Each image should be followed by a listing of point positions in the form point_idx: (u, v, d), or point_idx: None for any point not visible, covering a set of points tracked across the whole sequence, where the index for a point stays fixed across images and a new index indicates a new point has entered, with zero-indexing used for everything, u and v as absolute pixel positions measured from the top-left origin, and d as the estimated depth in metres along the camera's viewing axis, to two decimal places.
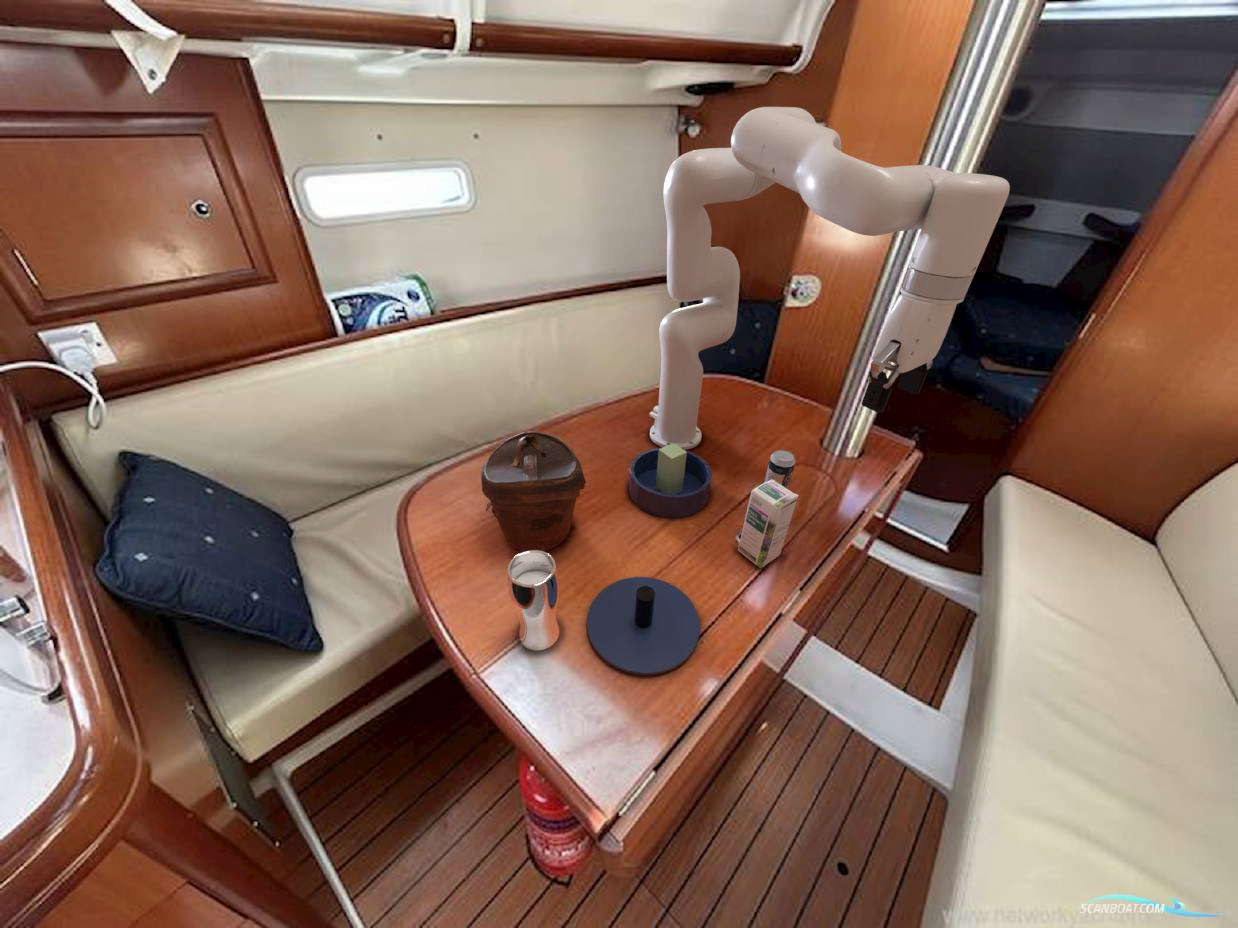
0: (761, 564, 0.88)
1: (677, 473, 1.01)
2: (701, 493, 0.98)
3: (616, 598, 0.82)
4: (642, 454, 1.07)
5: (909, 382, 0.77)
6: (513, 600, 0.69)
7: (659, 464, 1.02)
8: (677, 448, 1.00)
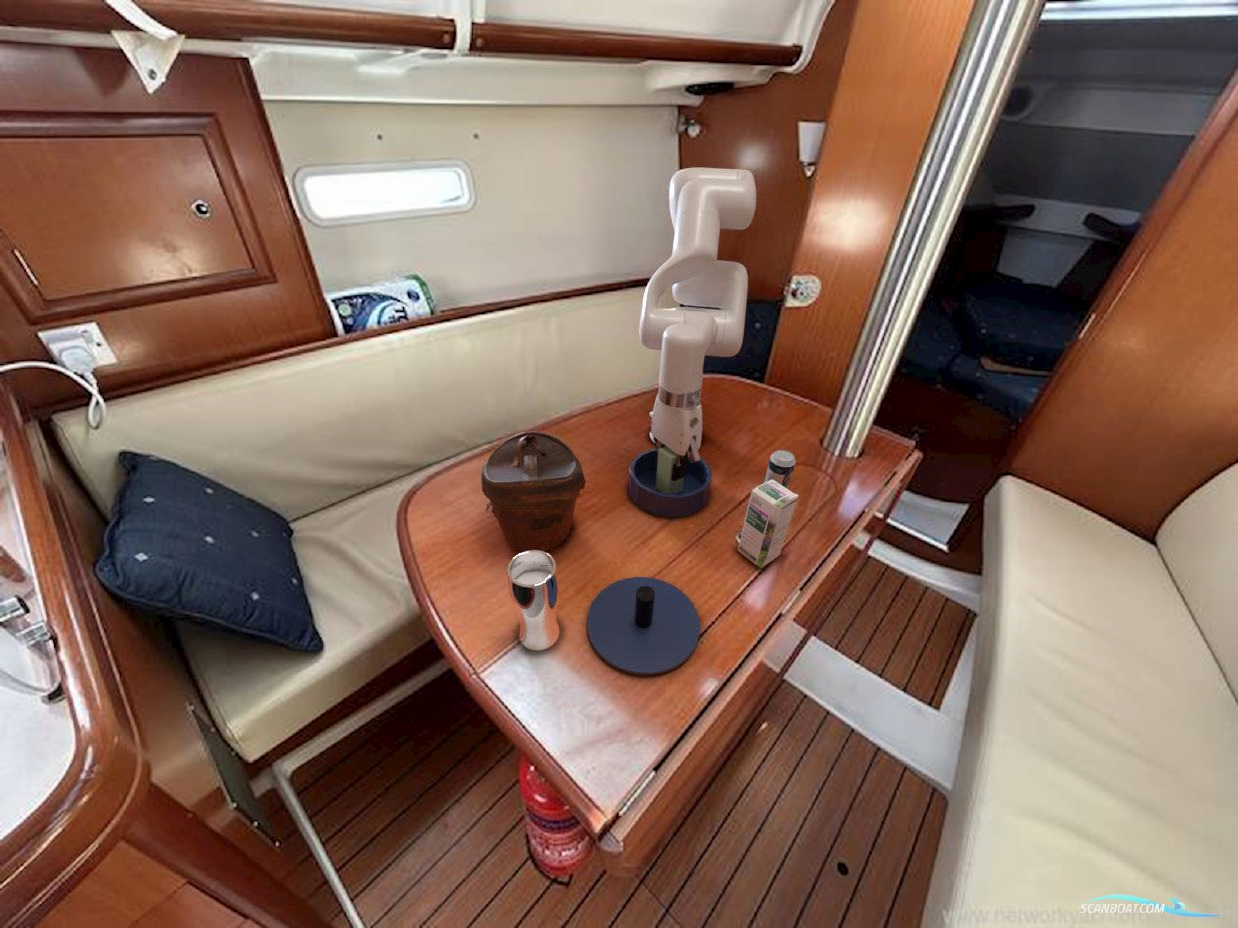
0: (761, 564, 0.88)
1: None
2: (701, 493, 0.98)
3: (616, 598, 0.82)
4: (642, 454, 1.07)
5: None
6: (513, 600, 0.69)
7: (659, 464, 1.02)
8: None
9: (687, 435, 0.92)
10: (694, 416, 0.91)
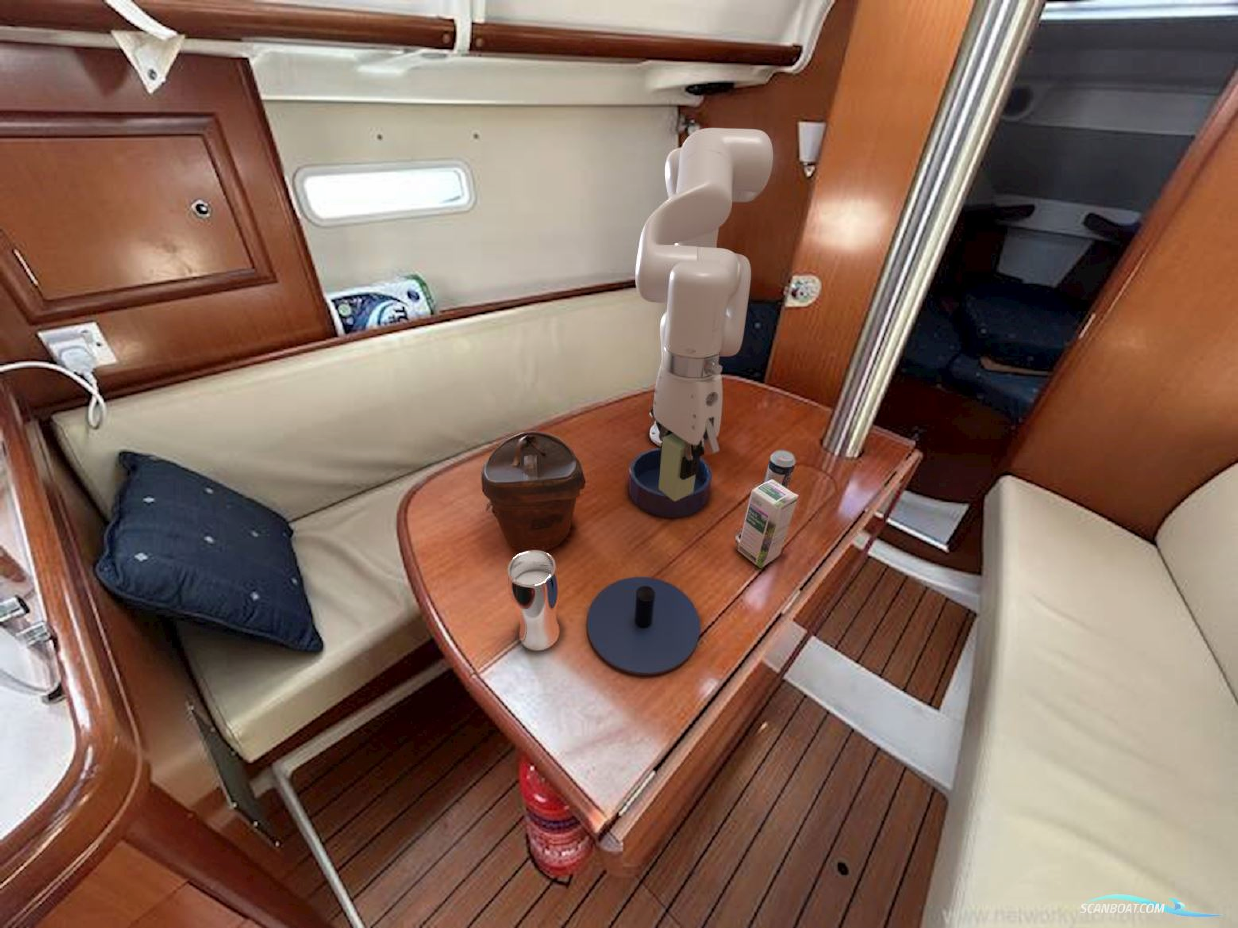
0: (761, 564, 0.88)
1: None
2: (701, 493, 0.98)
3: (616, 598, 0.82)
4: (642, 454, 1.07)
5: None
6: (513, 600, 0.69)
7: (663, 457, 0.77)
8: None
9: (702, 416, 0.68)
10: (712, 390, 0.66)
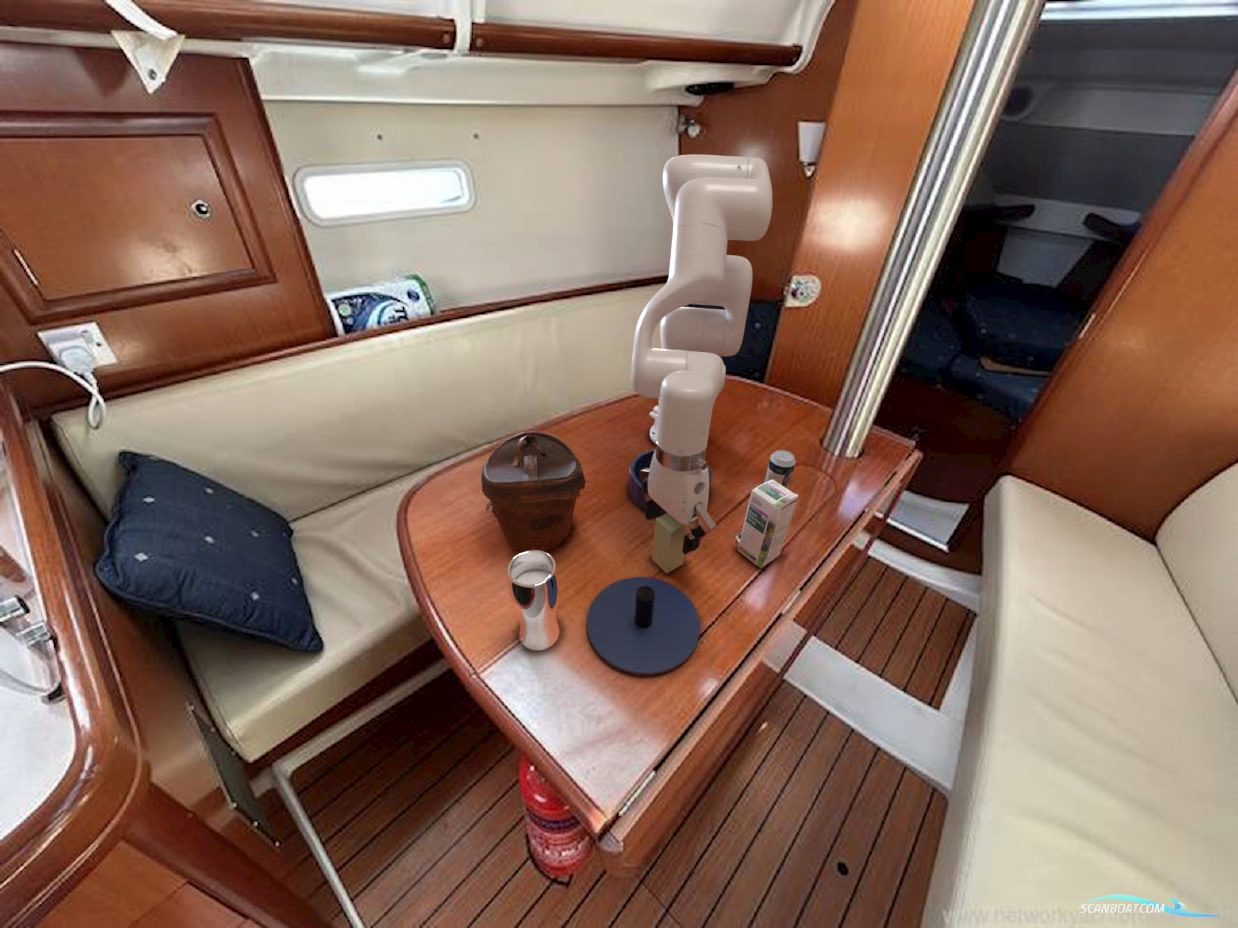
0: (761, 564, 0.88)
1: (678, 546, 0.85)
2: None
3: (616, 598, 0.82)
4: (642, 454, 1.07)
5: None
6: (513, 600, 0.69)
7: (656, 535, 0.86)
8: None
9: (691, 503, 0.76)
10: (699, 480, 0.74)
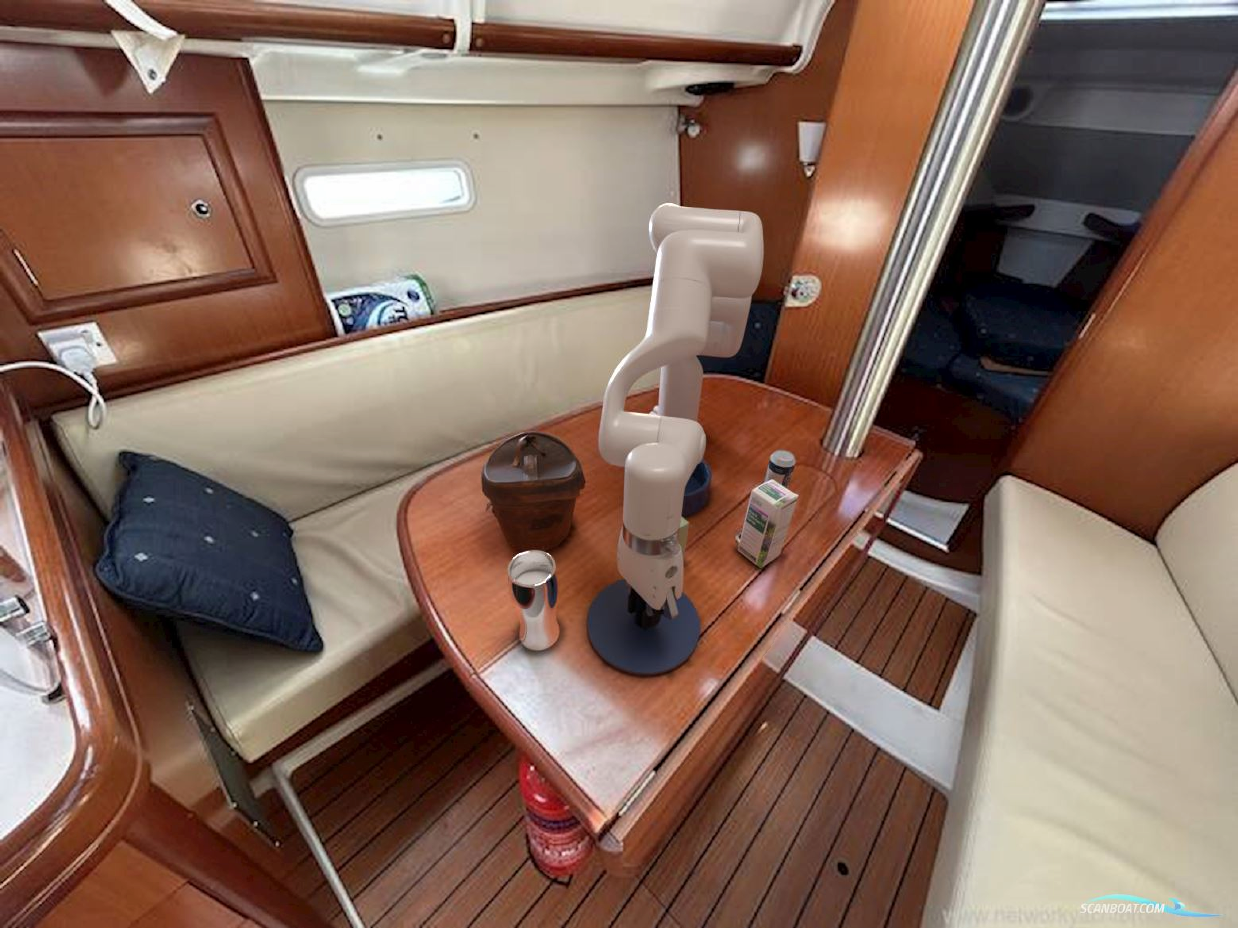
0: (761, 564, 0.88)
1: None
2: (701, 493, 0.98)
3: (616, 598, 0.82)
4: None
5: None
6: (513, 600, 0.69)
7: None
8: None
9: (662, 588, 0.67)
10: (671, 564, 0.65)
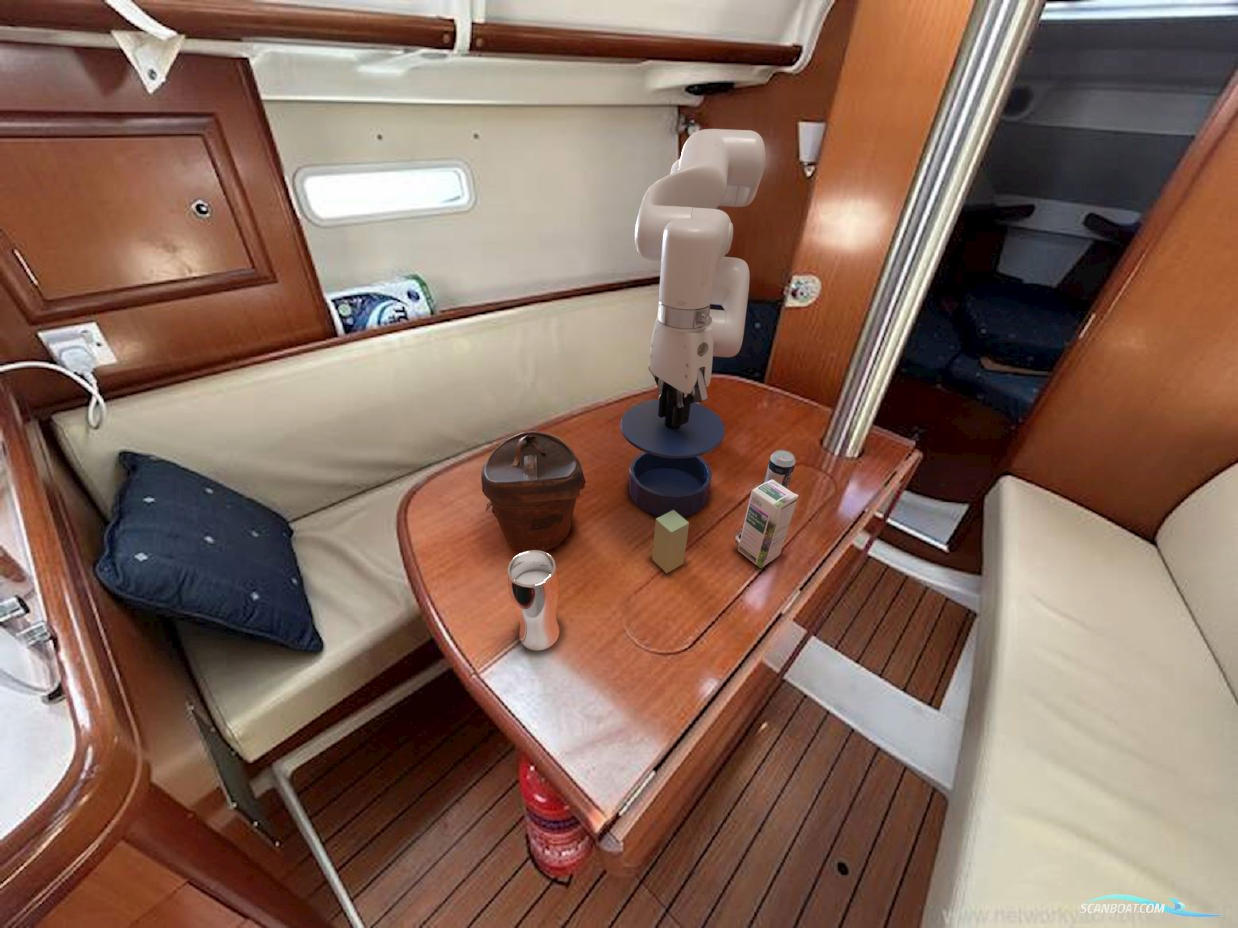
0: (761, 564, 0.88)
1: (678, 546, 0.85)
2: (701, 493, 0.98)
3: (646, 411, 0.88)
4: (642, 454, 1.07)
5: None
6: (513, 600, 0.69)
7: (656, 535, 0.86)
8: (678, 517, 0.85)
9: (694, 366, 0.73)
10: (702, 340, 0.72)
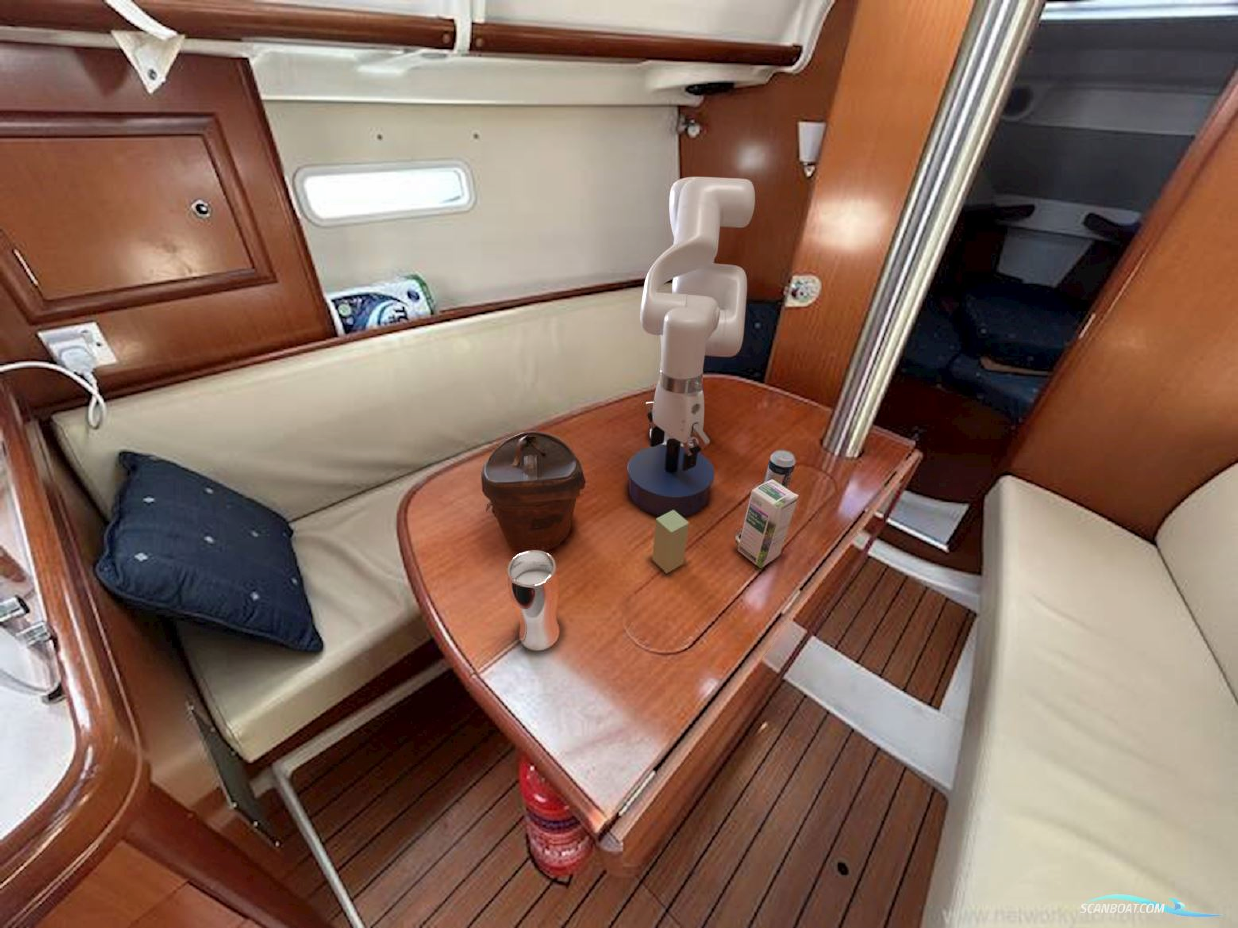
0: (761, 564, 0.88)
1: (678, 546, 0.85)
2: (701, 493, 0.98)
3: (649, 456, 1.05)
4: None
5: None
6: (513, 600, 0.69)
7: (656, 535, 0.86)
8: (678, 517, 0.85)
9: (689, 422, 0.90)
10: (696, 402, 0.89)
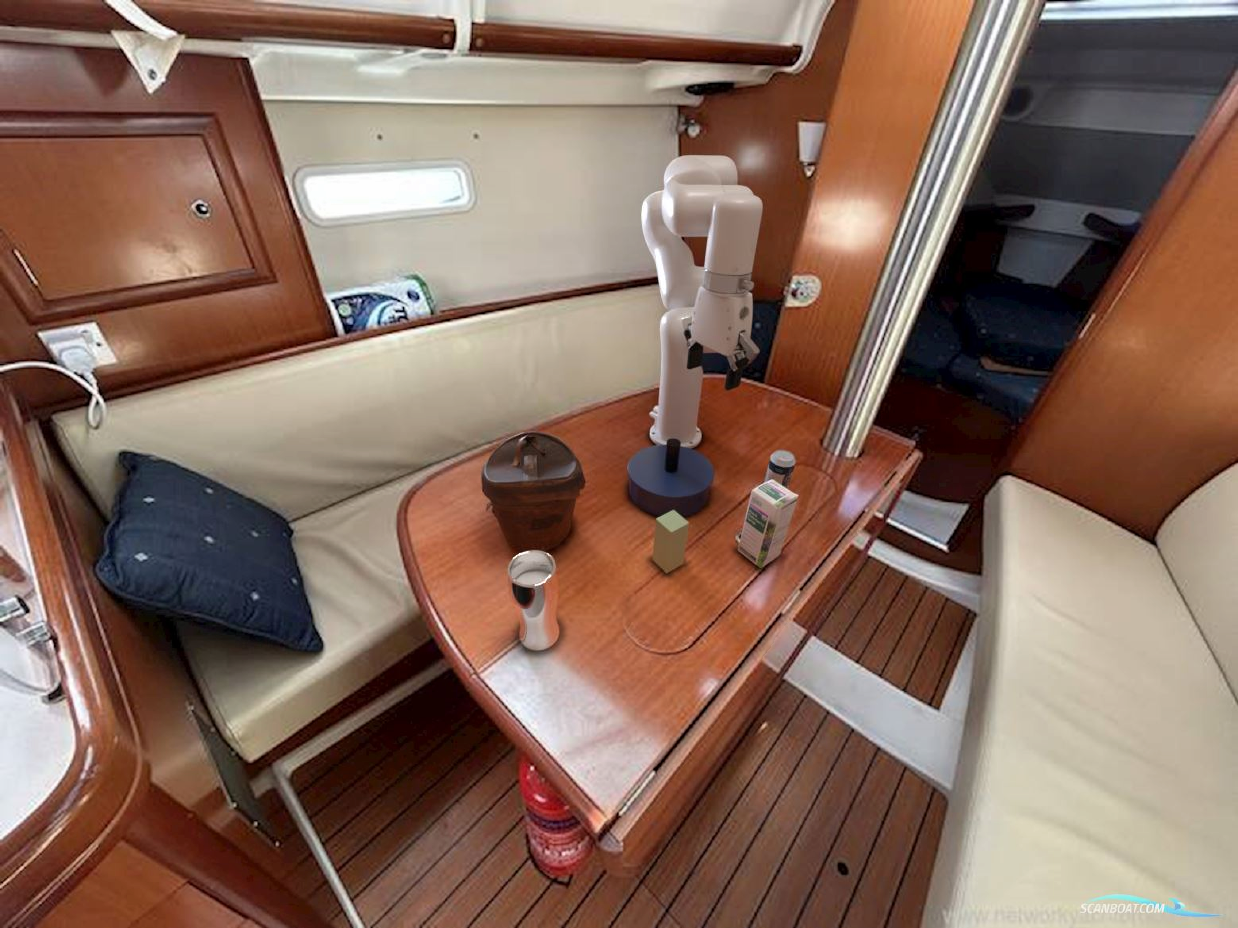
0: (761, 564, 0.88)
1: (678, 546, 0.85)
2: (701, 493, 0.98)
3: (649, 456, 1.05)
4: None
5: None
6: (513, 600, 0.69)
7: (656, 535, 0.86)
8: (678, 517, 0.85)
9: (736, 328, 0.80)
10: (744, 305, 0.79)
